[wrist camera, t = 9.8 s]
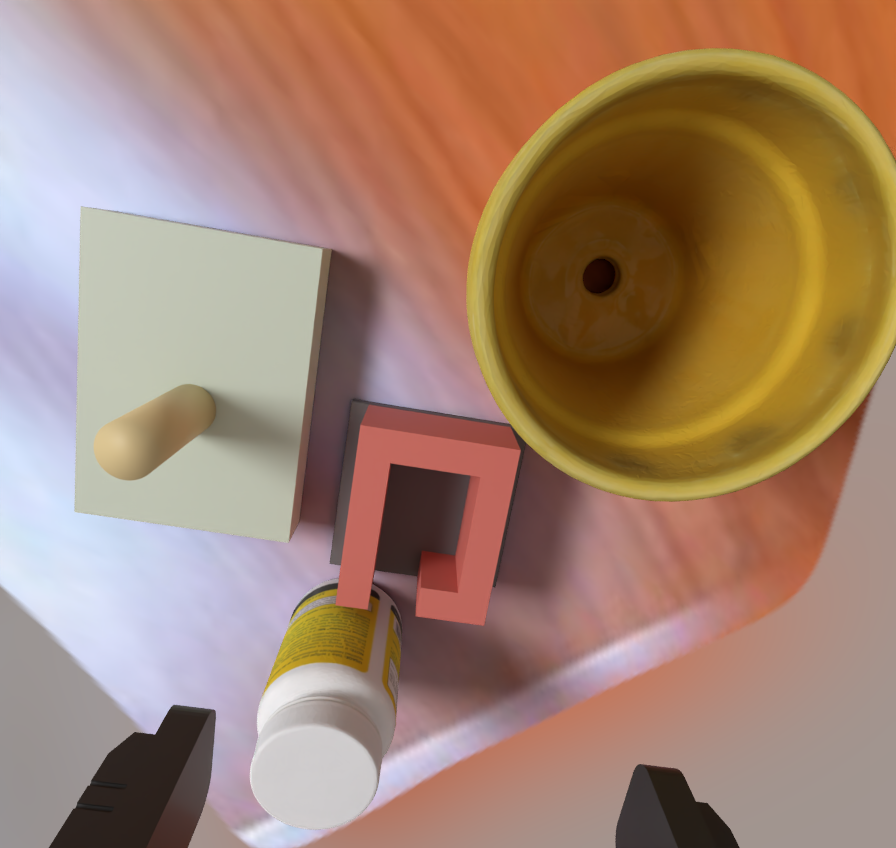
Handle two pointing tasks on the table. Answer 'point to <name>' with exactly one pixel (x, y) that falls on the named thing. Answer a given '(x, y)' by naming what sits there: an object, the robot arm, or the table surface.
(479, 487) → the c link
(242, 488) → the stand
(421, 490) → the coaster
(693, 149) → the plant pot
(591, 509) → the table surface
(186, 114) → the table surface
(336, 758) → the supplement bottle
